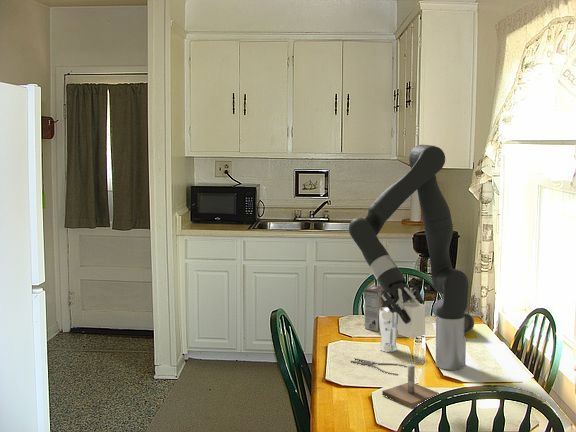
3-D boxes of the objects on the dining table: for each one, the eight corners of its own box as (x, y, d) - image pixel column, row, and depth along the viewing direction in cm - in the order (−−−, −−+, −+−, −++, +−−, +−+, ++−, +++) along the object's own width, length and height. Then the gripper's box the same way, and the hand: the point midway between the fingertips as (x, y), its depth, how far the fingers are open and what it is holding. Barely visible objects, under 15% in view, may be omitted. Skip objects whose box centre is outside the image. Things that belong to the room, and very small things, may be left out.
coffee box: (375, 323, 285) (375, 284, 283) (389, 325, 281) (389, 286, 279) (364, 328, 278) (364, 289, 276) (378, 331, 274) (378, 291, 272)
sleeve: (411, 330, 209) (411, 301, 208) (425, 334, 205) (425, 305, 203) (397, 333, 206) (397, 304, 205) (411, 338, 201) (411, 308, 200)
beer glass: (401, 349, 252) (402, 308, 250) (390, 353, 247) (391, 312, 245) (386, 345, 257) (386, 305, 255) (374, 349, 252) (375, 309, 250)
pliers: (402, 374, 225) (344, 367, 233) (402, 377, 225) (344, 369, 233) (409, 365, 234) (353, 357, 242) (409, 367, 234) (353, 360, 242)
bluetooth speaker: (475, 336, 266) (476, 311, 264) (452, 338, 264) (452, 312, 263) (452, 320, 288) (453, 296, 287) (431, 321, 286) (431, 298, 285)
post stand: (410, 386, 216) (410, 357, 215) (439, 398, 206) (440, 367, 205) (382, 395, 209) (382, 365, 208) (411, 408, 199) (411, 376, 198)
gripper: (376, 269, 204) (405, 317, 196) (410, 263, 213) (439, 309, 205) (363, 284, 209) (391, 331, 201) (397, 277, 218) (426, 322, 210)
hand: (415, 320), depth 203 cm, fingers closed on sleeve, 5 cm apart
